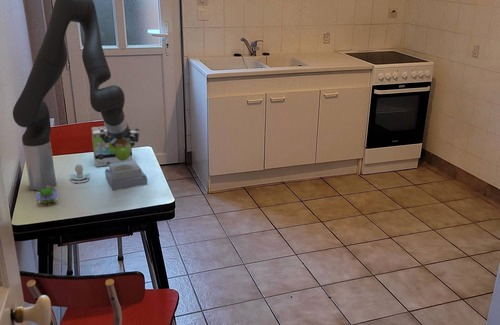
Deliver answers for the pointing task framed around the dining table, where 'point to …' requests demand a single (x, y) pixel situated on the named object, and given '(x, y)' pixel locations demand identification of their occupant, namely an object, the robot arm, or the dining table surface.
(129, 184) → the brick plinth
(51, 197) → the geometric puzzle
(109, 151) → the tea box
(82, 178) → the pacifier
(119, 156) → the snail figurine
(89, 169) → the dining table surface
